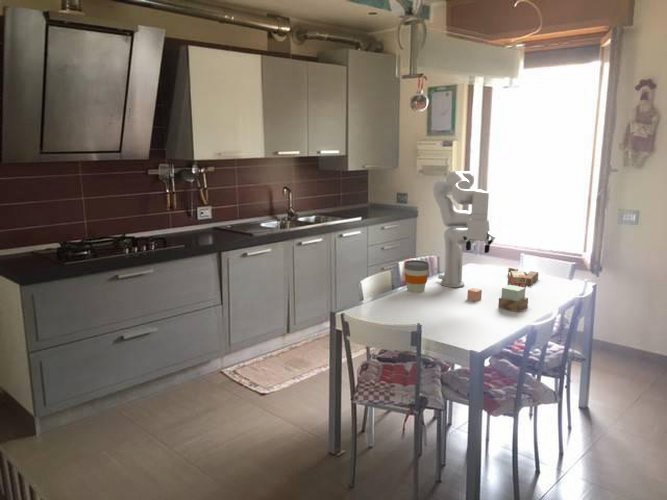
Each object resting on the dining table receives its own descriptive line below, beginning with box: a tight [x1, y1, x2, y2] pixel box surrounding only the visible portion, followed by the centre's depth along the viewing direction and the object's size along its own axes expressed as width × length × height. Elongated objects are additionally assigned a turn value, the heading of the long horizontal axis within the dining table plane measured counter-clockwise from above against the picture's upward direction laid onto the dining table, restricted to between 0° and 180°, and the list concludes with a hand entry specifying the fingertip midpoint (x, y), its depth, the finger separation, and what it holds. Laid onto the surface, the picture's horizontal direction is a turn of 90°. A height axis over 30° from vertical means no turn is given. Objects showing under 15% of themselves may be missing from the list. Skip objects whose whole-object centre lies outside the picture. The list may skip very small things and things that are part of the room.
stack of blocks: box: [506, 270, 527, 290], centre depth 280 cm, size 21×6×12 cm, turn 169°
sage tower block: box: [500, 284, 526, 301], centre depth 258 cm, size 8×8×5 cm
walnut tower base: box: [497, 296, 529, 313], centre depth 259 cm, size 10×10×5 cm
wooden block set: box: [507, 267, 539, 286], centre depth 309 cm, size 17×6×18 cm
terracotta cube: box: [467, 287, 483, 302], centre depth 272 cm, size 5×5×5 cm
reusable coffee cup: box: [404, 259, 430, 294], centre depth 285 cm, size 13×13×15 cm
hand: (477, 251), depth 267 cm, fingers open, 9 cm apart
